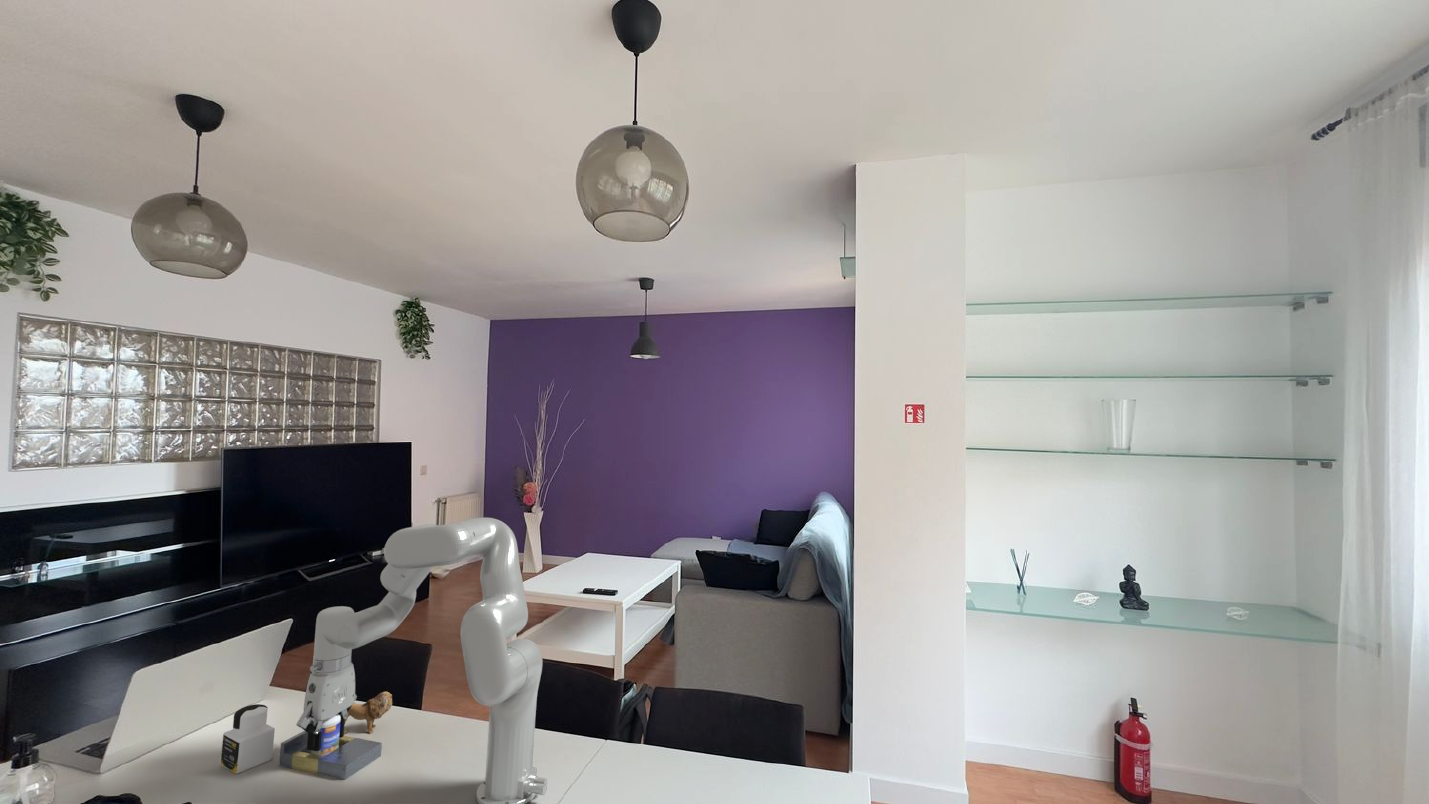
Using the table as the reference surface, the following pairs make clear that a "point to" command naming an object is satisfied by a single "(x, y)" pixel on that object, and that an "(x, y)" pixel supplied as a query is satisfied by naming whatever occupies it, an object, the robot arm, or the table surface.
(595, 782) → the table surface
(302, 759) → the grey and tan frame
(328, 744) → the pill bottle
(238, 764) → the medicine bottle
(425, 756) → the table surface
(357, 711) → the lion figurine
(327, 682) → the robot arm
